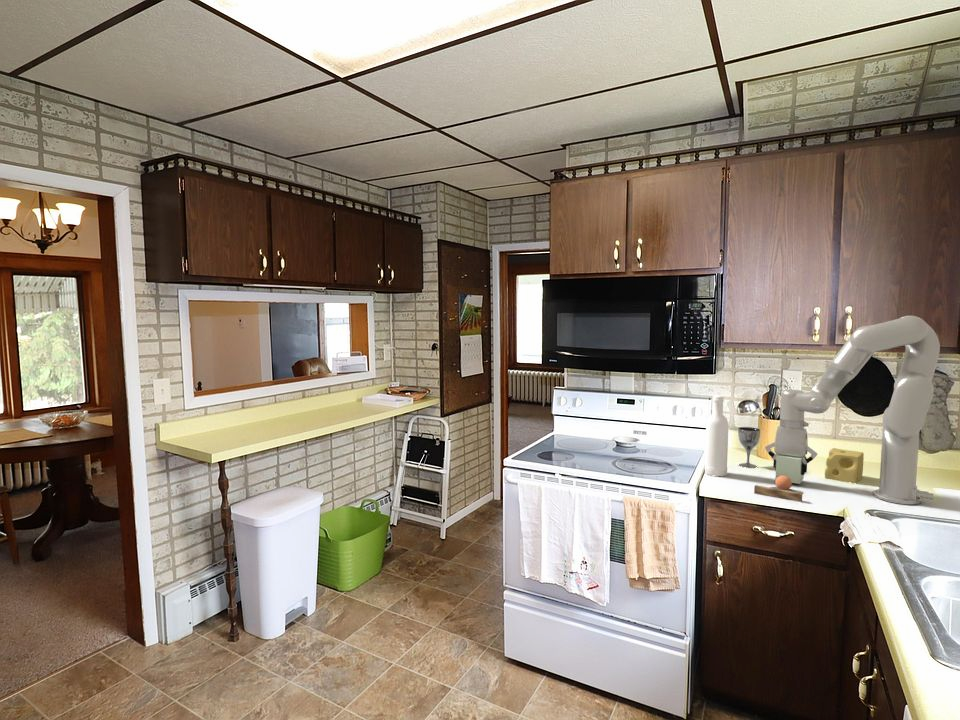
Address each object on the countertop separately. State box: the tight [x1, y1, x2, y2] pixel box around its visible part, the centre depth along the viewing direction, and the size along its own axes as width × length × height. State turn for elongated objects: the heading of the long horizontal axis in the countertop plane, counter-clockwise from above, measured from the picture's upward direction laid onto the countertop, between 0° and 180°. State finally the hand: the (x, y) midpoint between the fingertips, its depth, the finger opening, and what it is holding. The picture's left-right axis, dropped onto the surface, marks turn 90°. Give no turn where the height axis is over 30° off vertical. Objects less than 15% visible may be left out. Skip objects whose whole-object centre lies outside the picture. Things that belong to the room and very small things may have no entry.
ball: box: [774, 476, 793, 490], centre depth 191 cm, size 5×5×5 cm
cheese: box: [824, 447, 865, 484], centre depth 203 cm, size 10×11×10 cm
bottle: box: [704, 394, 729, 477], centre depth 209 cm, size 8×8×30 cm
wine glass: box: [737, 426, 761, 469], centre depth 220 cm, size 8×8×15 cm
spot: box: [768, 486, 797, 492], centre depth 189 cm, size 9×9×1 cm
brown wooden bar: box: [753, 484, 803, 503], centre depth 184 cm, size 14×2×2 cm, turn 51°
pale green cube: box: [775, 455, 805, 485], centre depth 199 cm, size 8×8×9 cm
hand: (789, 471), depth 199 cm, fingers closed on pale green cube, 7 cm apart
